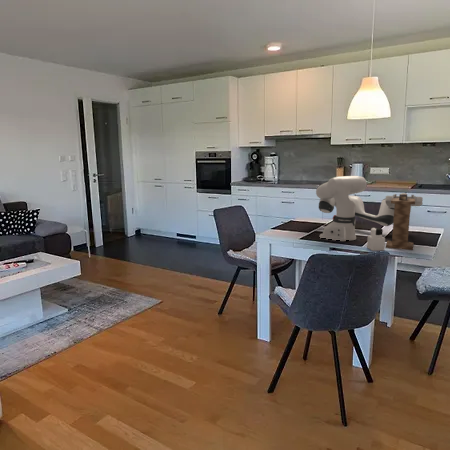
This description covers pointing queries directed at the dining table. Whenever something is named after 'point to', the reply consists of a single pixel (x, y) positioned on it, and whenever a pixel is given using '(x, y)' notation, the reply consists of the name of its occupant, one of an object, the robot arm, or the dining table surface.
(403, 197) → the wooden wick
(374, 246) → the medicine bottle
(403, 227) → the walnut stand
